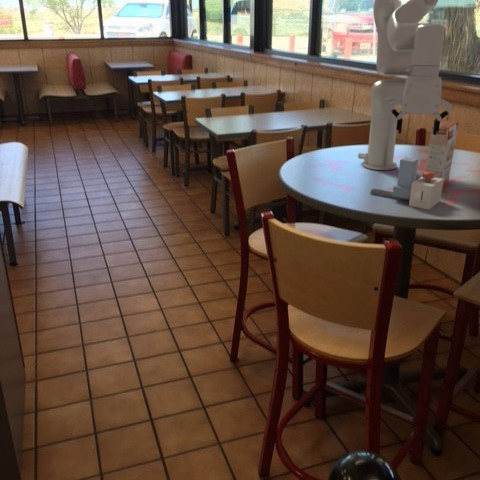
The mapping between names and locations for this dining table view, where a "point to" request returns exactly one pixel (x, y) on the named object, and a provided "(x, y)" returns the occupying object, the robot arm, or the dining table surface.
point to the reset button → (428, 176)
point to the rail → (386, 194)
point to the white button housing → (425, 193)
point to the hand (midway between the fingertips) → (416, 133)
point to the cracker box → (442, 150)
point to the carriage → (405, 177)
